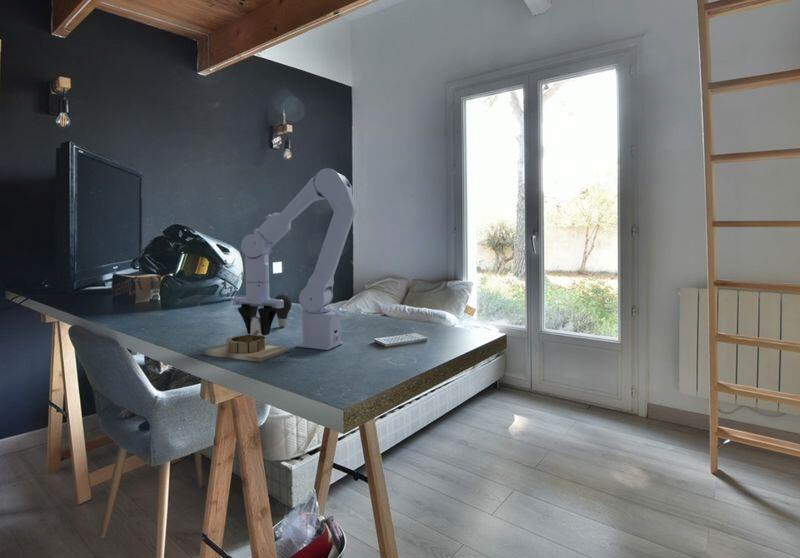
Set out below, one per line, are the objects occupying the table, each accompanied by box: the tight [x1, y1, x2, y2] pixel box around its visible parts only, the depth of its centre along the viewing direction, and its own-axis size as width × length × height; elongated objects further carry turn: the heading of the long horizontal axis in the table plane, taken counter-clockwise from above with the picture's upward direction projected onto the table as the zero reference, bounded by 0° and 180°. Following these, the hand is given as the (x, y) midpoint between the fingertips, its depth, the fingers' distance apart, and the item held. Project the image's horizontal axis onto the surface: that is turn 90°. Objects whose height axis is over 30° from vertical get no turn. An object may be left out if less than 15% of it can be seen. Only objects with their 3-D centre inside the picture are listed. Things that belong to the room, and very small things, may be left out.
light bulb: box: [274, 294, 292, 328], centre depth 140 cm, size 6×6×10 cm
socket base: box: [203, 334, 288, 363], centre depth 109 cm, size 16×10×4 cm, turn 69°
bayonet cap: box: [249, 314, 268, 344], centre depth 119 cm, size 5×4×7 cm
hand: (258, 334), depth 119 cm, fingers closed on bayonet cap, 4 cm apart
